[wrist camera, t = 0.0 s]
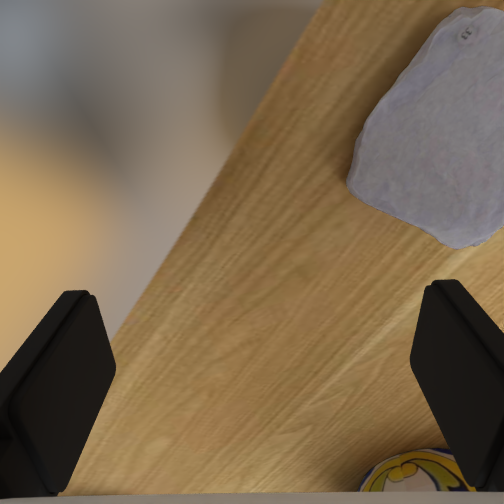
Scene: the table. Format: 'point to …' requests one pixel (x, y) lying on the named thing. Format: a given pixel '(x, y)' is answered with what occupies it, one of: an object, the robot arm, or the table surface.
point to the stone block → (441, 135)
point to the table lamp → (416, 473)
